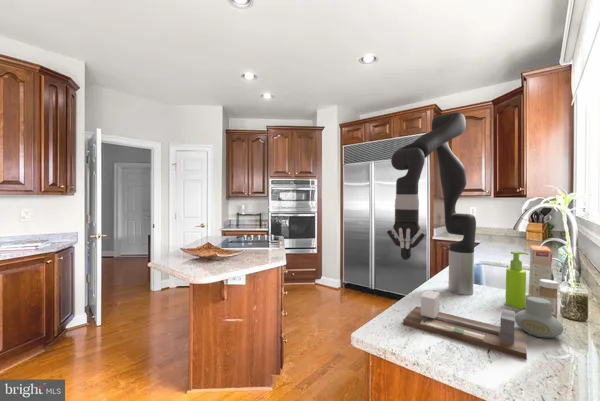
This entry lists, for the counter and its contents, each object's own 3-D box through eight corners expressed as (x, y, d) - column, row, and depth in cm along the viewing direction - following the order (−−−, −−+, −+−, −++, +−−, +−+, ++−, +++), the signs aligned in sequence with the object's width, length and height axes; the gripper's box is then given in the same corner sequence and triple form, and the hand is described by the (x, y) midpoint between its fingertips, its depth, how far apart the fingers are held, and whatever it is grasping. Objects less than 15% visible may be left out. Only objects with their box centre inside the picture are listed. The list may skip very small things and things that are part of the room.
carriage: (426, 309, 94) (426, 290, 94) (439, 312, 92) (439, 293, 92) (417, 320, 85) (417, 299, 85) (431, 324, 83) (431, 302, 83)
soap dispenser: (532, 308, 102) (533, 253, 102) (513, 307, 102) (514, 253, 102) (519, 302, 108) (521, 250, 108) (501, 301, 108) (502, 250, 108)
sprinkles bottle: (559, 323, 90) (560, 281, 90) (554, 326, 88) (555, 283, 87) (541, 317, 94) (542, 277, 94) (536, 321, 91) (537, 280, 91)
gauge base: (415, 310, 99) (416, 289, 98) (525, 337, 80) (525, 311, 80) (403, 324, 87) (403, 300, 87) (526, 359, 69) (527, 329, 69)
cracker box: (551, 307, 103) (552, 251, 103) (530, 303, 107) (531, 249, 106) (547, 297, 114) (548, 246, 114) (528, 294, 118) (529, 244, 118)
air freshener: (564, 335, 82) (565, 301, 82) (560, 345, 76) (561, 308, 76) (518, 323, 90) (518, 291, 90) (511, 330, 84) (512, 297, 84)
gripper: (430, 208, 94) (429, 260, 94) (391, 207, 102) (390, 254, 102) (424, 209, 88) (423, 264, 88) (383, 207, 96) (382, 258, 96)
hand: (405, 259), depth 95 cm, fingers closed
